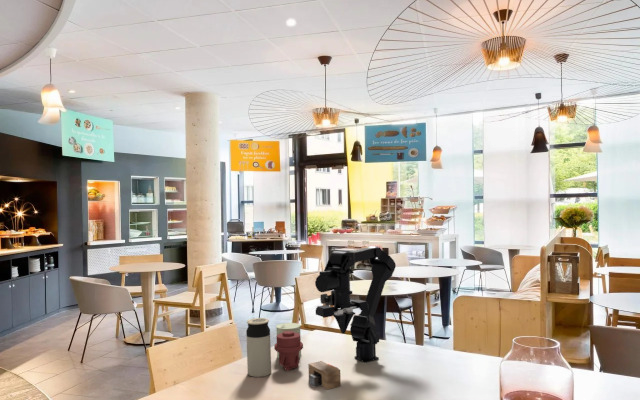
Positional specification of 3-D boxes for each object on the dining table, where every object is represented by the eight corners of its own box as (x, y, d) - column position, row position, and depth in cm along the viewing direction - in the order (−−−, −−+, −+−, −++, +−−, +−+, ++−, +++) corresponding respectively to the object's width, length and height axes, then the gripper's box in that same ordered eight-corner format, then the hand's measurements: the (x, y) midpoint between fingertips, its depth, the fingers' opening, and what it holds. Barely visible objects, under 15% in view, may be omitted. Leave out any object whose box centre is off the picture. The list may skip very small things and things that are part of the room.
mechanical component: (306, 363, 177) (299, 373, 167) (279, 362, 179) (271, 371, 169) (305, 328, 177) (298, 336, 167) (278, 328, 179) (270, 335, 169)
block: (321, 375, 164) (321, 360, 164) (340, 385, 154) (340, 369, 154) (308, 379, 161) (308, 363, 161) (327, 389, 152) (326, 373, 152)
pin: (328, 377, 162) (328, 363, 162) (339, 382, 157) (338, 368, 157) (307, 383, 158) (306, 368, 158) (317, 388, 153) (316, 373, 153)
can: (271, 357, 185) (270, 325, 185) (289, 351, 192) (288, 320, 192) (289, 362, 179) (288, 328, 179) (306, 355, 186) (305, 323, 186)
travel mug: (275, 371, 170) (274, 318, 170) (263, 378, 163) (261, 324, 163) (255, 368, 173) (254, 316, 173) (243, 375, 166) (241, 322, 166)
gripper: (350, 282, 183) (351, 324, 183) (306, 288, 173) (307, 332, 173) (368, 285, 173) (370, 330, 173) (323, 292, 163) (325, 339, 163)
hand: (343, 333), depth 171 cm, fingers closed
